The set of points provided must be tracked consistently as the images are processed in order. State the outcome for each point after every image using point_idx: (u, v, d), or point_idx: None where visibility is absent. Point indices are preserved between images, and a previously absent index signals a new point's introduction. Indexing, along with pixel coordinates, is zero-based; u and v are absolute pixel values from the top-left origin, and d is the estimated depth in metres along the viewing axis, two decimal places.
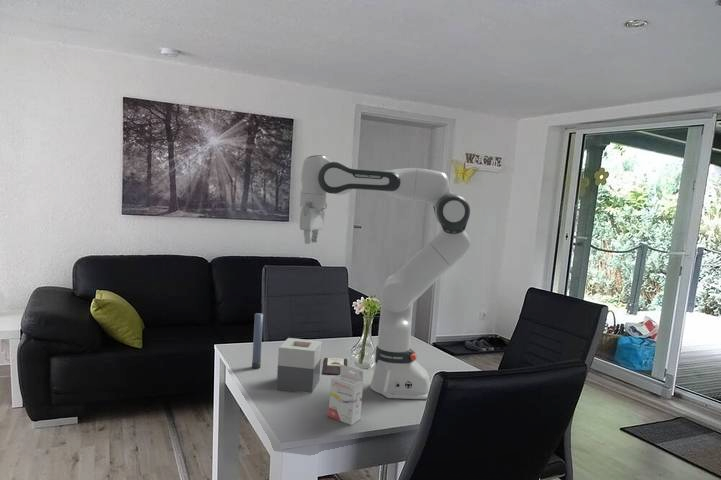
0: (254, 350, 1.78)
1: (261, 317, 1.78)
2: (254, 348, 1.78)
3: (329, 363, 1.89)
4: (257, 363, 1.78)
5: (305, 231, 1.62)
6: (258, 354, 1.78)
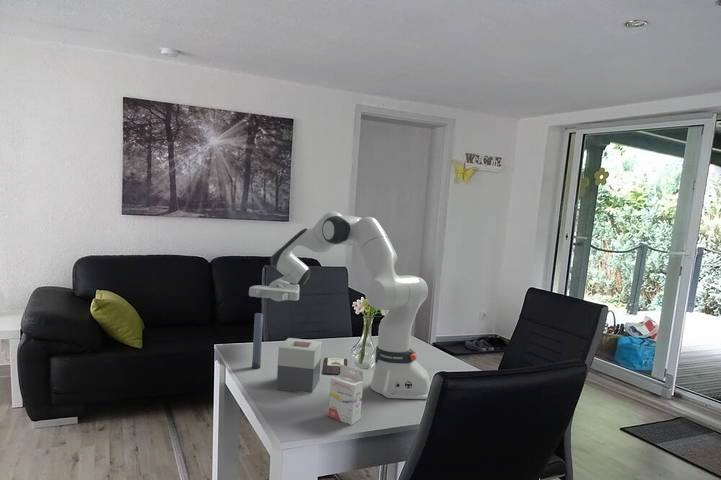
0: (254, 350, 1.78)
1: (261, 317, 1.78)
2: (254, 348, 1.78)
3: (329, 363, 1.89)
4: (257, 363, 1.78)
5: None
6: (258, 354, 1.78)
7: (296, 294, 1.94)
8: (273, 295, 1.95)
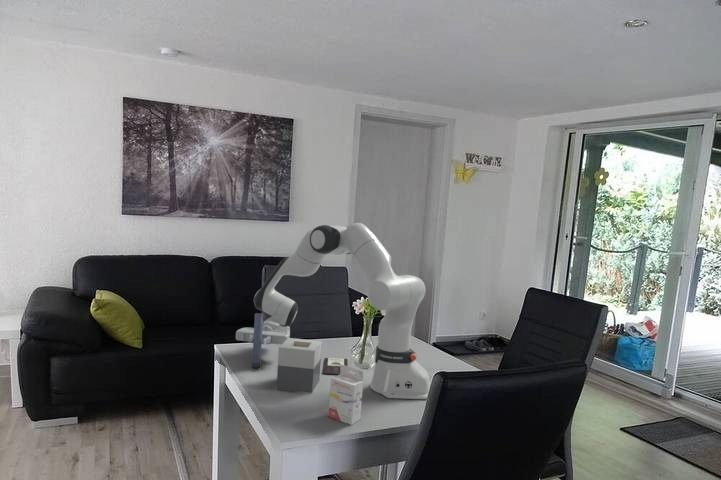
0: (254, 350, 1.78)
1: (261, 317, 1.78)
2: (254, 348, 1.78)
3: (329, 363, 1.89)
4: (257, 363, 1.78)
5: None
6: (258, 354, 1.78)
7: (286, 338, 1.82)
8: None
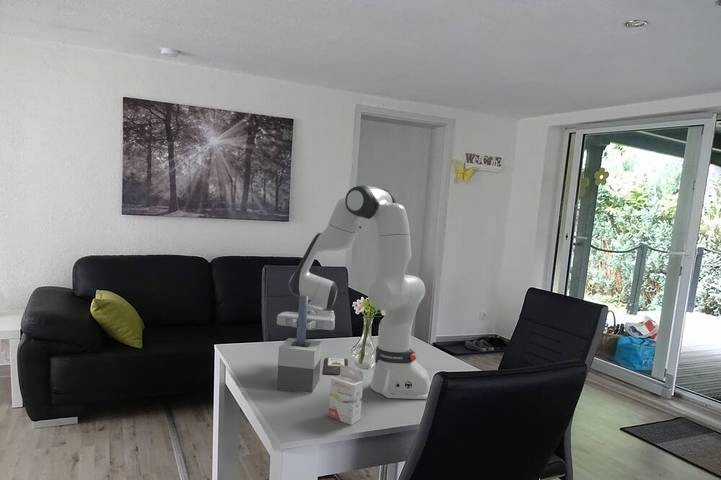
0: (298, 335, 1.63)
1: (306, 299, 1.63)
2: (298, 333, 1.63)
3: (329, 363, 1.89)
4: None
5: (292, 323, 1.68)
6: (303, 339, 1.64)
7: (332, 323, 1.67)
8: None
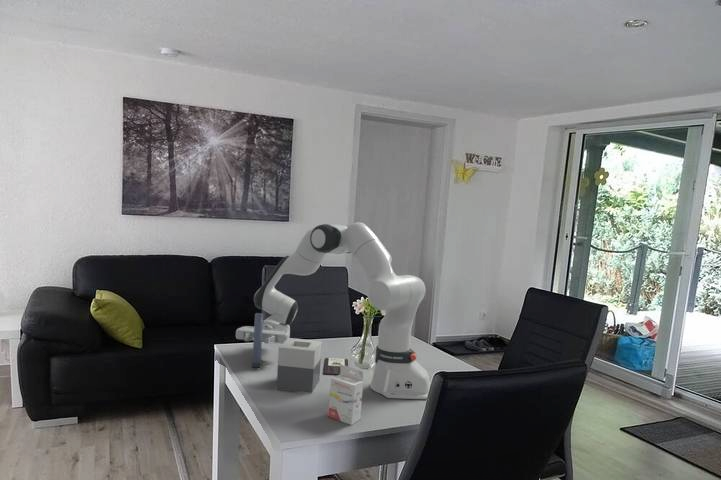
0: (254, 350, 1.78)
1: (261, 317, 1.78)
2: (254, 348, 1.78)
3: (330, 363, 1.88)
4: (257, 363, 1.78)
5: None
6: (258, 354, 1.78)
7: (286, 337, 1.82)
8: None
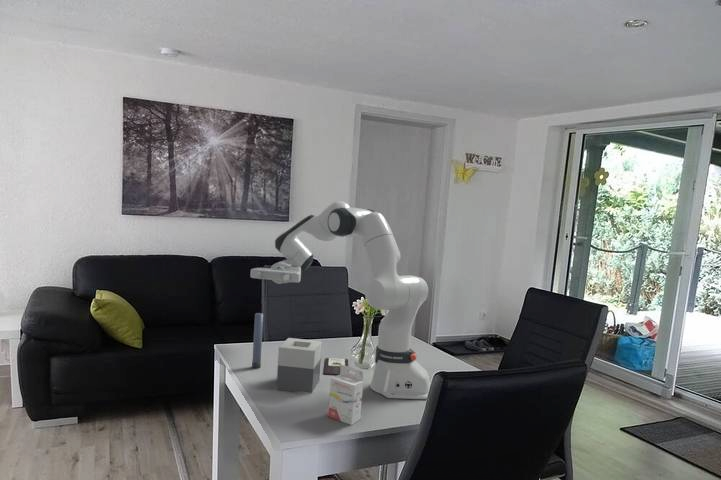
0: (254, 350, 1.78)
1: (261, 317, 1.78)
2: (254, 348, 1.78)
3: (330, 363, 1.88)
4: (257, 363, 1.78)
5: None
6: (258, 354, 1.78)
7: (297, 275, 1.94)
8: (274, 277, 1.95)
